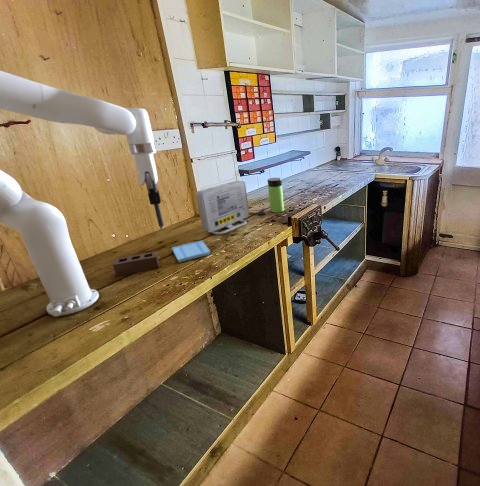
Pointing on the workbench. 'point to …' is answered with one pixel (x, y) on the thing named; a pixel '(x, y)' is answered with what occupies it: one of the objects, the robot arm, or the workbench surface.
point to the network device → (223, 206)
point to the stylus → (159, 215)
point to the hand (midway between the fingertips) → (155, 202)
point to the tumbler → (275, 195)
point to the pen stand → (136, 263)
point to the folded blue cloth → (190, 251)
